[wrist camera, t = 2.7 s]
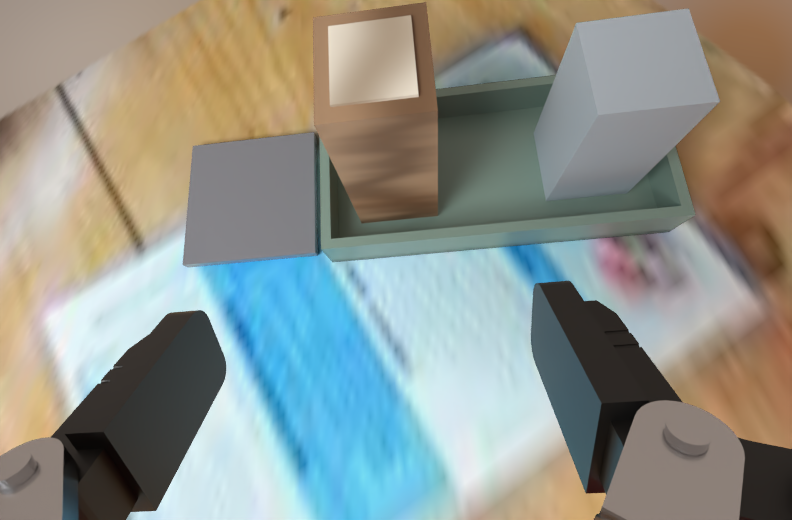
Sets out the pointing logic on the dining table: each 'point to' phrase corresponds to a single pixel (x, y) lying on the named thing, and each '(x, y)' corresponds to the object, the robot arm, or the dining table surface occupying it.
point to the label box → (379, 109)
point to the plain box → (621, 103)
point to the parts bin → (498, 187)
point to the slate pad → (252, 201)
